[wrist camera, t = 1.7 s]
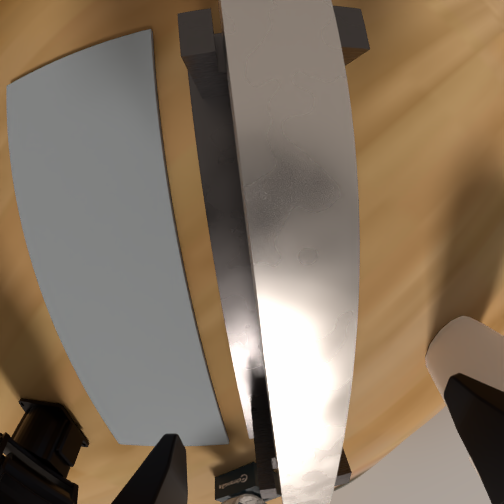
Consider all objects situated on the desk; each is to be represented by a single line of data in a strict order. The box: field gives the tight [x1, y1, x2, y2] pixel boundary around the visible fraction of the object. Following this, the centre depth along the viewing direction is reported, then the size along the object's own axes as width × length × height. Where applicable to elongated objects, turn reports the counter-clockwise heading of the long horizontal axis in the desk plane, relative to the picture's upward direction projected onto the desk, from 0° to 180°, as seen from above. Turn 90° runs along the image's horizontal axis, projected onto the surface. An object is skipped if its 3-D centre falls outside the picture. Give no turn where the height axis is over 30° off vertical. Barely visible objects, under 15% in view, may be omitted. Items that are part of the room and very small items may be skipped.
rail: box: [218, 0, 360, 504], centre depth 12 cm, size 3×28×3 cm, turn 7°
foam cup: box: [425, 316, 504, 477], centre depth 16 cm, size 10×9×13 cm
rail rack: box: [178, 6, 370, 499], centre depth 15 cm, size 7×29×8 cm, turn 7°
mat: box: [7, 29, 229, 446], centre depth 18 cm, size 11×32×1 cm, turn 7°
